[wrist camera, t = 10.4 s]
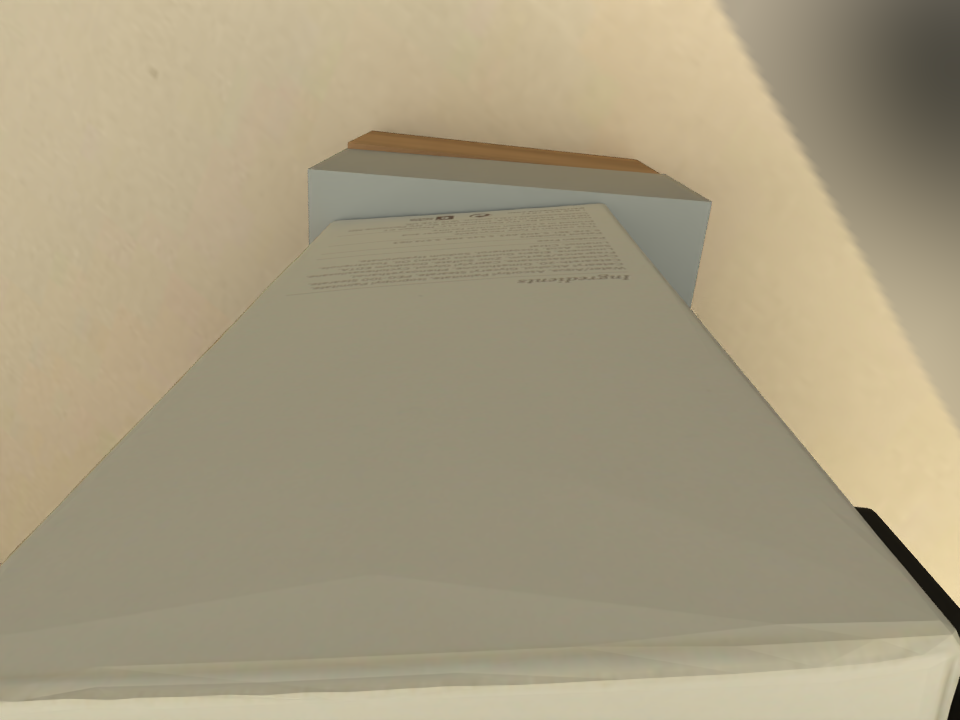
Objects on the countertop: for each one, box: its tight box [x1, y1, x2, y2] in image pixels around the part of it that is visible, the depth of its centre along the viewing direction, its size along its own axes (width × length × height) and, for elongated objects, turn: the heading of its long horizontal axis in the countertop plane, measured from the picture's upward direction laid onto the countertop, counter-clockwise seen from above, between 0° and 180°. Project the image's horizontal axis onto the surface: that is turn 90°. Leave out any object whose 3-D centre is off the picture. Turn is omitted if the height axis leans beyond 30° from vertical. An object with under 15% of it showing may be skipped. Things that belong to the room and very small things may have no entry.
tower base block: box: [348, 131, 659, 174], centre depth 23 cm, size 9×9×4 cm
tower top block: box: [308, 148, 712, 308], centre depth 19 cm, size 9×9×4 cm
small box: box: [0, 203, 960, 720], centre depth 11 cm, size 8×6×13 cm
